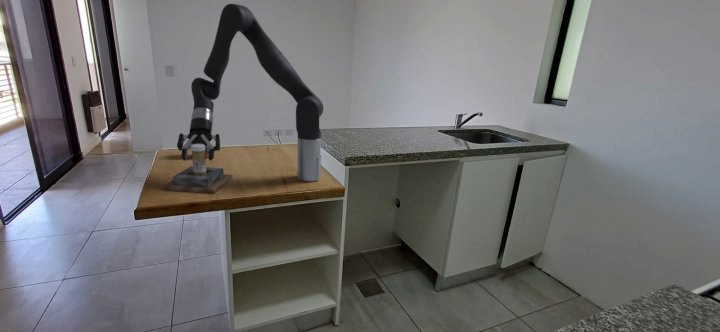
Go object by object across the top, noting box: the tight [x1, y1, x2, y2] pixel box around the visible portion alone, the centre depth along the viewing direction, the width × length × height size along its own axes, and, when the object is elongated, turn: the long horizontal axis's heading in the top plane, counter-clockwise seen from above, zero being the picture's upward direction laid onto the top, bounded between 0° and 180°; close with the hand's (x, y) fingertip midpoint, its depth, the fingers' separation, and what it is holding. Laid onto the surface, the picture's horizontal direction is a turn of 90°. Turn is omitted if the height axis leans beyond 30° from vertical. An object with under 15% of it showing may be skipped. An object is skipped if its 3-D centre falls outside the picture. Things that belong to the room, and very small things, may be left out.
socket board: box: [162, 165, 234, 194], centre depth 124 cm, size 18×16×4 cm
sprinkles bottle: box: [190, 144, 207, 176], centre depth 123 cm, size 5×5×14 cm
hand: (197, 159), depth 121 cm, fingers open, 8 cm apart
